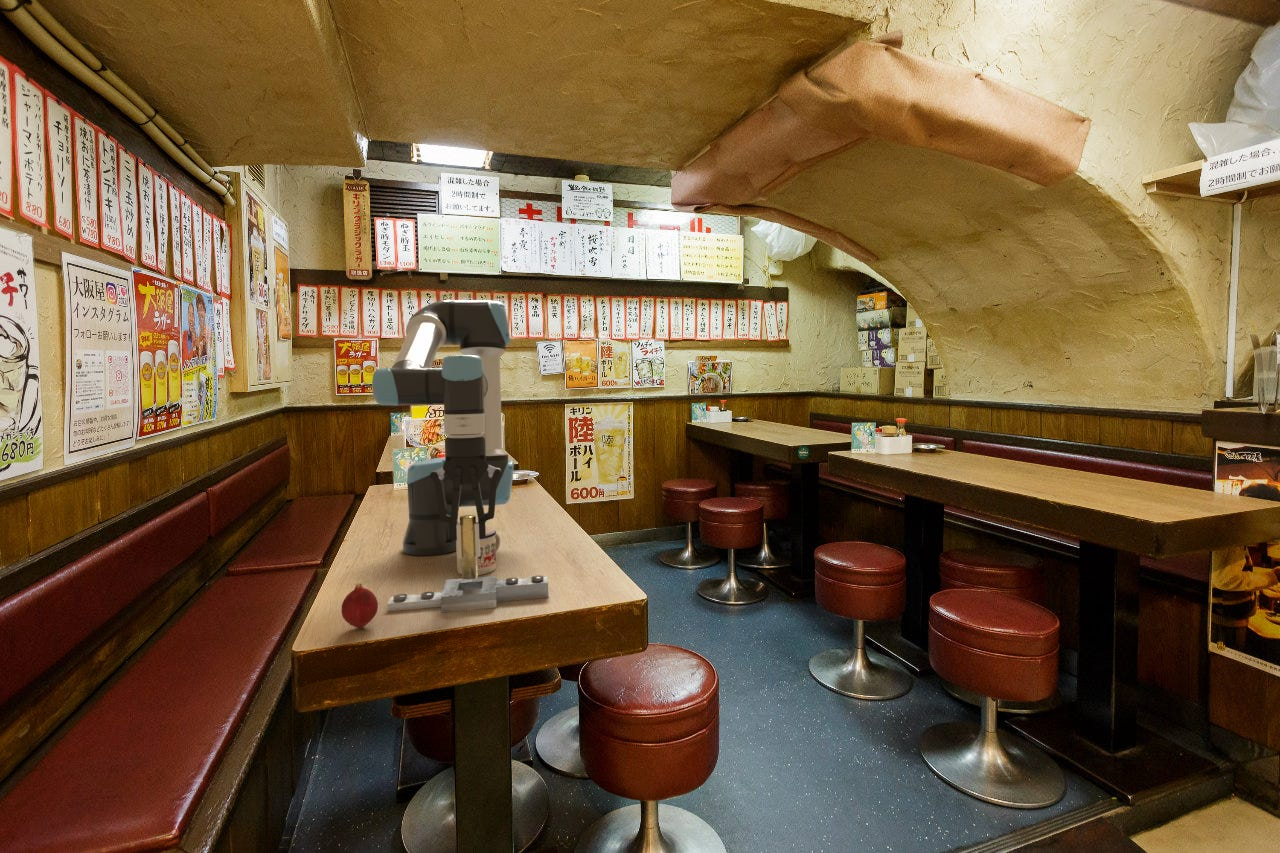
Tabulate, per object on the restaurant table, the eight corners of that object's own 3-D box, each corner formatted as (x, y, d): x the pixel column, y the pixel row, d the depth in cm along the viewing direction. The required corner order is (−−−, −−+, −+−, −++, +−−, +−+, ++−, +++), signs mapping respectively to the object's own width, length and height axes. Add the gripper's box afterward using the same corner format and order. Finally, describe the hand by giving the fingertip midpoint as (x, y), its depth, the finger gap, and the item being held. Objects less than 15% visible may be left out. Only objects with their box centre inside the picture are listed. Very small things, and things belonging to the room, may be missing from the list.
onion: (384, 627, 104) (382, 582, 104) (351, 638, 100) (348, 591, 100) (370, 618, 108) (368, 576, 108) (337, 628, 104) (334, 584, 103)
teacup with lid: (476, 578, 130) (474, 526, 129) (447, 572, 135) (445, 521, 134) (514, 564, 140) (512, 515, 139) (486, 558, 145) (484, 511, 144)
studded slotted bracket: (394, 598, 119) (393, 580, 118) (546, 585, 125) (546, 569, 125) (384, 617, 109) (383, 598, 108) (549, 602, 115) (548, 584, 115)
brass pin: (462, 575, 117) (460, 515, 117) (478, 574, 118) (476, 514, 117) (461, 580, 114) (459, 518, 114) (477, 578, 115) (475, 517, 114)
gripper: (418, 438, 109) (423, 564, 111) (506, 436, 112) (510, 558, 114) (424, 435, 116) (429, 553, 118) (507, 433, 120) (510, 547, 121)
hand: (469, 555), depth 116 cm, fingers closed on brass pin, 3 cm apart
